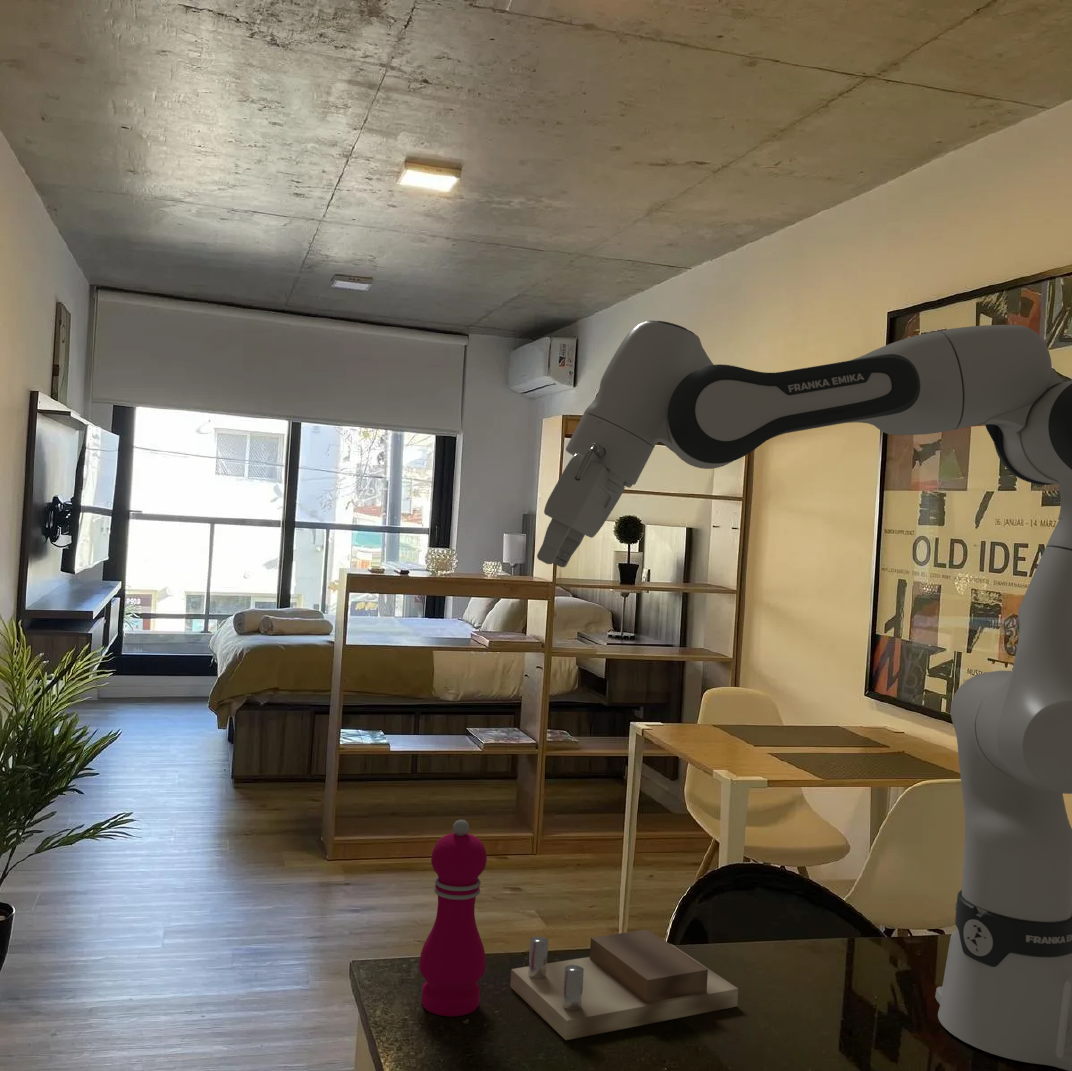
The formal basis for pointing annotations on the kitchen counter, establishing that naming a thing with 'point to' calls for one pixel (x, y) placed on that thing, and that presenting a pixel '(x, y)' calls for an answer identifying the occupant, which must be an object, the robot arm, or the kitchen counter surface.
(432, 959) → the pepper mill
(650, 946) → the walnut plate
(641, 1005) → the board
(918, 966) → the kitchen counter surface
